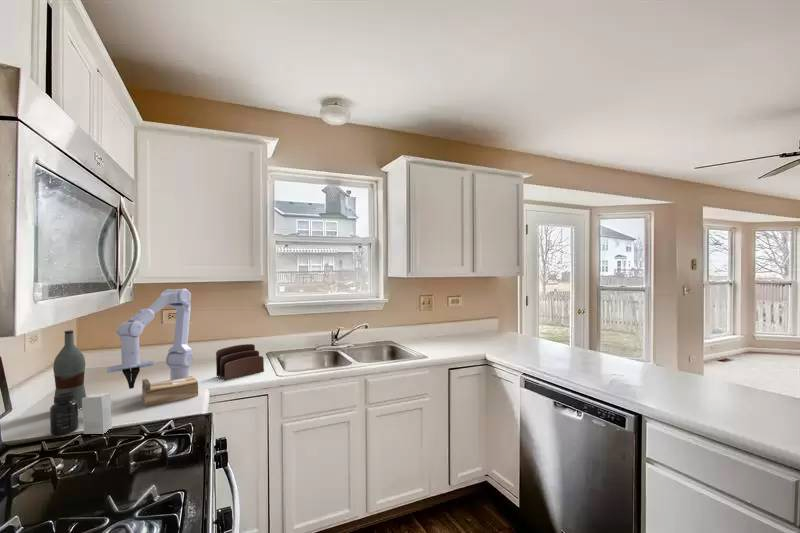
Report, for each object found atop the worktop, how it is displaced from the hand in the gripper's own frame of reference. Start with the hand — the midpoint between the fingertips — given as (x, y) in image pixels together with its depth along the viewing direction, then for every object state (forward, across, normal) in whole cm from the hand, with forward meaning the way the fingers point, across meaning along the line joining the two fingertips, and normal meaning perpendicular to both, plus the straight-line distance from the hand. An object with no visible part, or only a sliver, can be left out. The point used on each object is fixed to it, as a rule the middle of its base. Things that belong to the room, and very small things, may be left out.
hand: (131, 387), depth 145 cm
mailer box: (+7, +13, 0) cm, 15 cm away
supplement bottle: (+7, -19, -14) cm, 25 cm away
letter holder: (+7, +46, +17) cm, 50 cm away
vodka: (+7, -18, +13) cm, 23 cm away
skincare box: (+7, -11, -24) cm, 27 cm away
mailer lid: (+2, +13, 0) cm, 13 cm away
